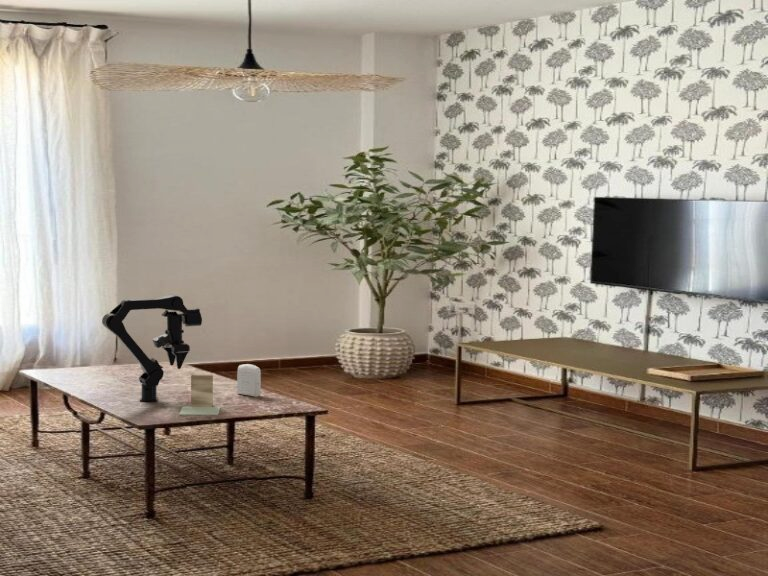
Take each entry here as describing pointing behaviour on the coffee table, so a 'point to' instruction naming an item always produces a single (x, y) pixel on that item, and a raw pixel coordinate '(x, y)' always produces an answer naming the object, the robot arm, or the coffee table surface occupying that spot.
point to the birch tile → (201, 390)
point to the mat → (199, 411)
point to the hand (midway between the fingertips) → (175, 367)
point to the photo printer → (249, 380)
